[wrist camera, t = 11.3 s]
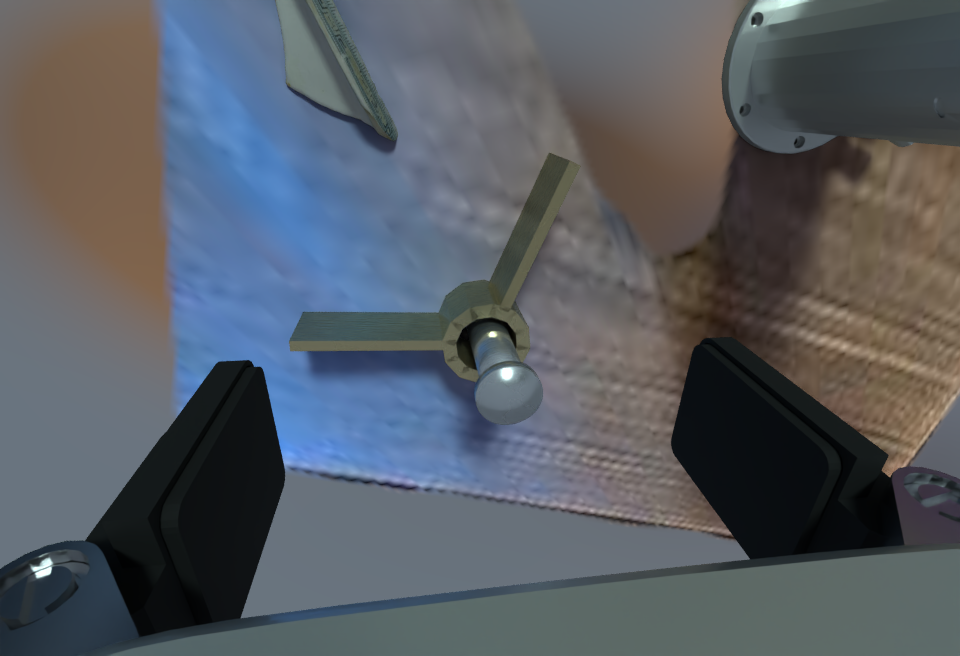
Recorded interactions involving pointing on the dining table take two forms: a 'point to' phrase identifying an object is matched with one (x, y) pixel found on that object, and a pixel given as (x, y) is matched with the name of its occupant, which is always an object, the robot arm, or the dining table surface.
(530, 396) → the hinge pin
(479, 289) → the brass hinge
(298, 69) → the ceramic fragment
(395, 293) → the dining table surface
